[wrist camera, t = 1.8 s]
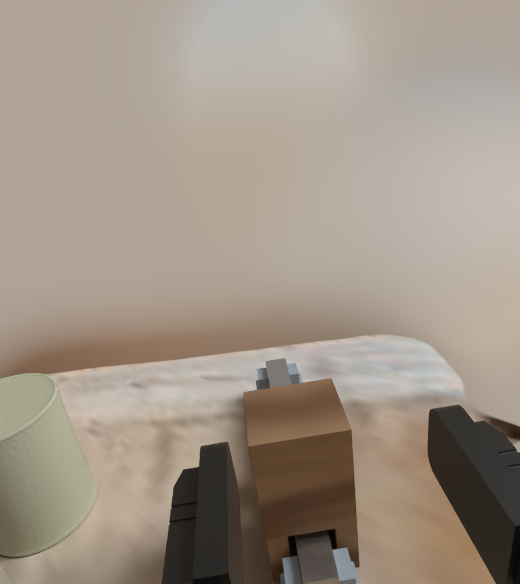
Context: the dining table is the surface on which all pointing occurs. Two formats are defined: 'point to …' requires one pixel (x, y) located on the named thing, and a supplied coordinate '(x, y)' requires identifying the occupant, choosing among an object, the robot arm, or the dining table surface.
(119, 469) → the dining table surface
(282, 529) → the wooden rectangular block
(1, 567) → the travel mug
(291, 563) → the grey angular blocks
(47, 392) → the can
